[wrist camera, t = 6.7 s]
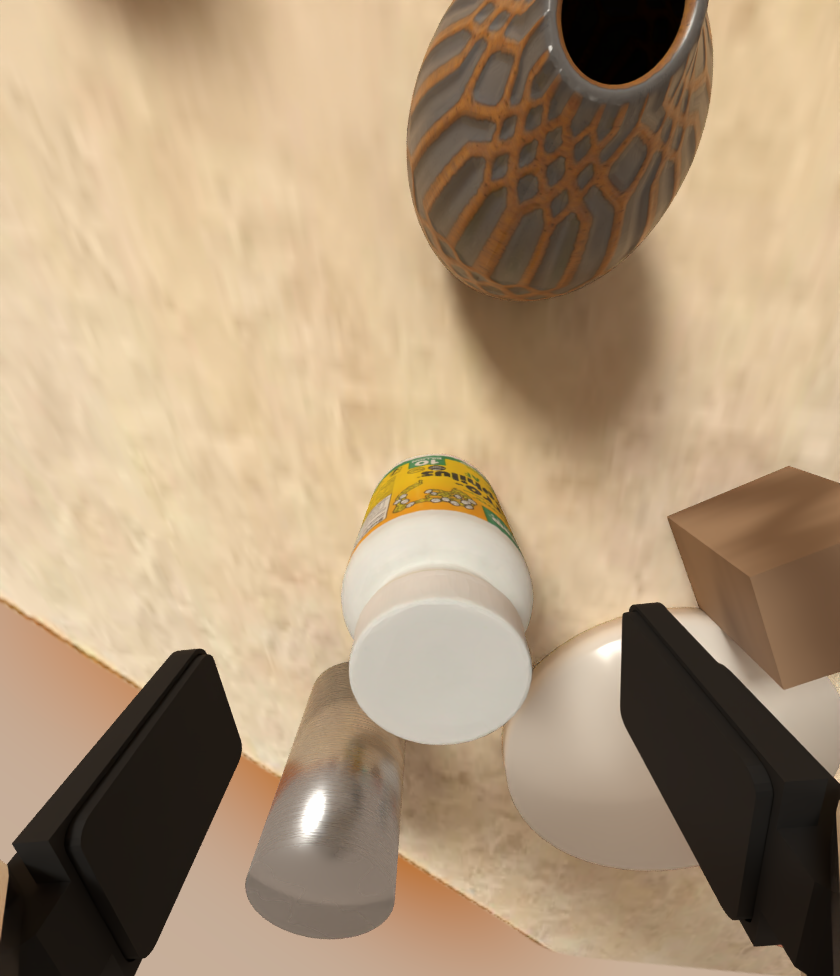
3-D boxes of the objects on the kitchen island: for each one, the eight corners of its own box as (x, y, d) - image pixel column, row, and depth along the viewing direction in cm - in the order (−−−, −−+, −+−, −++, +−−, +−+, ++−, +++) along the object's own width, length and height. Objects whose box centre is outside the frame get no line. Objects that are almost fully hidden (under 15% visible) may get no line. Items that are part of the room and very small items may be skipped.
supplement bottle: (349, 526, 18) (270, 704, 9) (414, 424, 17) (394, 517, 8) (451, 585, 19) (470, 801, 10) (522, 493, 18) (618, 649, 9)
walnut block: (787, 465, 17) (922, 511, 12) (811, 563, 18) (941, 638, 14) (666, 516, 18) (749, 577, 13) (697, 605, 19) (783, 689, 15)
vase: (658, 139, 14) (1009, -179, 5) (549, 342, 16) (681, 339, 7) (469, 27, 13) (538, -549, 5) (381, 256, 15) (318, 147, 7)
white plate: (849, 591, 19) (881, 610, 17) (793, 834, 24) (814, 862, 23) (490, 623, 20) (495, 643, 18) (510, 849, 25) (514, 878, 24)
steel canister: (402, 658, 21) (383, 842, 13) (413, 734, 22) (403, 937, 15) (302, 664, 21) (228, 847, 13) (321, 739, 23) (264, 940, 15)
